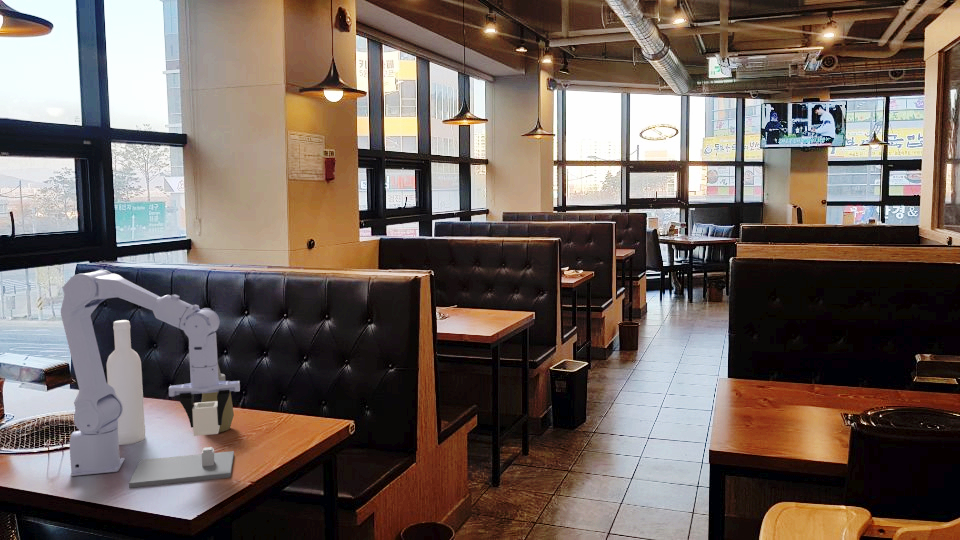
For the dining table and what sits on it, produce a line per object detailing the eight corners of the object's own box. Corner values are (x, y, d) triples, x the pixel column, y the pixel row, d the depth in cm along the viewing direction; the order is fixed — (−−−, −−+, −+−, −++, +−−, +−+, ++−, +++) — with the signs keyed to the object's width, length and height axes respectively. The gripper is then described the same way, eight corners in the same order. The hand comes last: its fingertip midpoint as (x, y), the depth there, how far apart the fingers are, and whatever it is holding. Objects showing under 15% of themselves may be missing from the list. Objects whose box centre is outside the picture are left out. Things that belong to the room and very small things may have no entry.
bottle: (110, 437, 184) (103, 320, 181) (144, 432, 188) (138, 317, 185) (110, 447, 177) (103, 325, 174) (146, 442, 181) (140, 322, 178)
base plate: (129, 487, 153) (128, 466, 152) (141, 464, 166) (139, 444, 166) (230, 477, 158) (229, 457, 157) (233, 455, 171) (233, 436, 171)
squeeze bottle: (239, 425, 194) (236, 358, 192) (226, 435, 186) (223, 365, 184) (210, 424, 195) (207, 358, 193) (195, 434, 187) (192, 365, 185)
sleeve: (193, 435, 159) (192, 409, 159) (196, 428, 164) (194, 402, 163) (218, 433, 161) (216, 407, 160) (219, 426, 165) (218, 400, 165)
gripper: (165, 371, 155) (168, 433, 156) (237, 366, 159) (240, 427, 160) (170, 363, 162) (173, 423, 163) (239, 359, 166) (241, 418, 167)
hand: (206, 425), depth 162 cm, fingers closed on sleeve, 5 cm apart
